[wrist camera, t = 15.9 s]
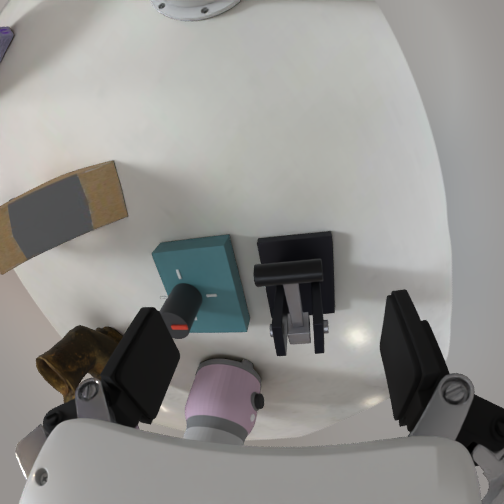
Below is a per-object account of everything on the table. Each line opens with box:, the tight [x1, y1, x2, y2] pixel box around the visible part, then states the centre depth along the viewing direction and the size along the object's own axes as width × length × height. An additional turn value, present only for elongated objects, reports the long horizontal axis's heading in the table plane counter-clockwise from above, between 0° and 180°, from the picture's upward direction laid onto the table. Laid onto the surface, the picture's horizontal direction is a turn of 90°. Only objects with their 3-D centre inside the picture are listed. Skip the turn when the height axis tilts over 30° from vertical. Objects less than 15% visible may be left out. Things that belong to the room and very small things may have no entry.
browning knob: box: [159, 283, 202, 339], centre depth 35 cm, size 4×4×6 cm
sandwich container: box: [0, 161, 128, 274], centre depth 29 cm, size 9×15×15 cm, turn 98°
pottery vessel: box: [36, 325, 123, 403], centre depth 43 cm, size 25×11×20 cm, turn 18°
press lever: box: [254, 259, 323, 344], centre depth 25 cm, size 12×5×2 cm, turn 10°
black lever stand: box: [257, 231, 335, 356], centre depth 32 cm, size 12×9×12 cm
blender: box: [183, 359, 264, 445], centre depth 35 cm, size 16×12×32 cm
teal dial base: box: [152, 235, 250, 333], centre depth 38 cm, size 14×11×3 cm
